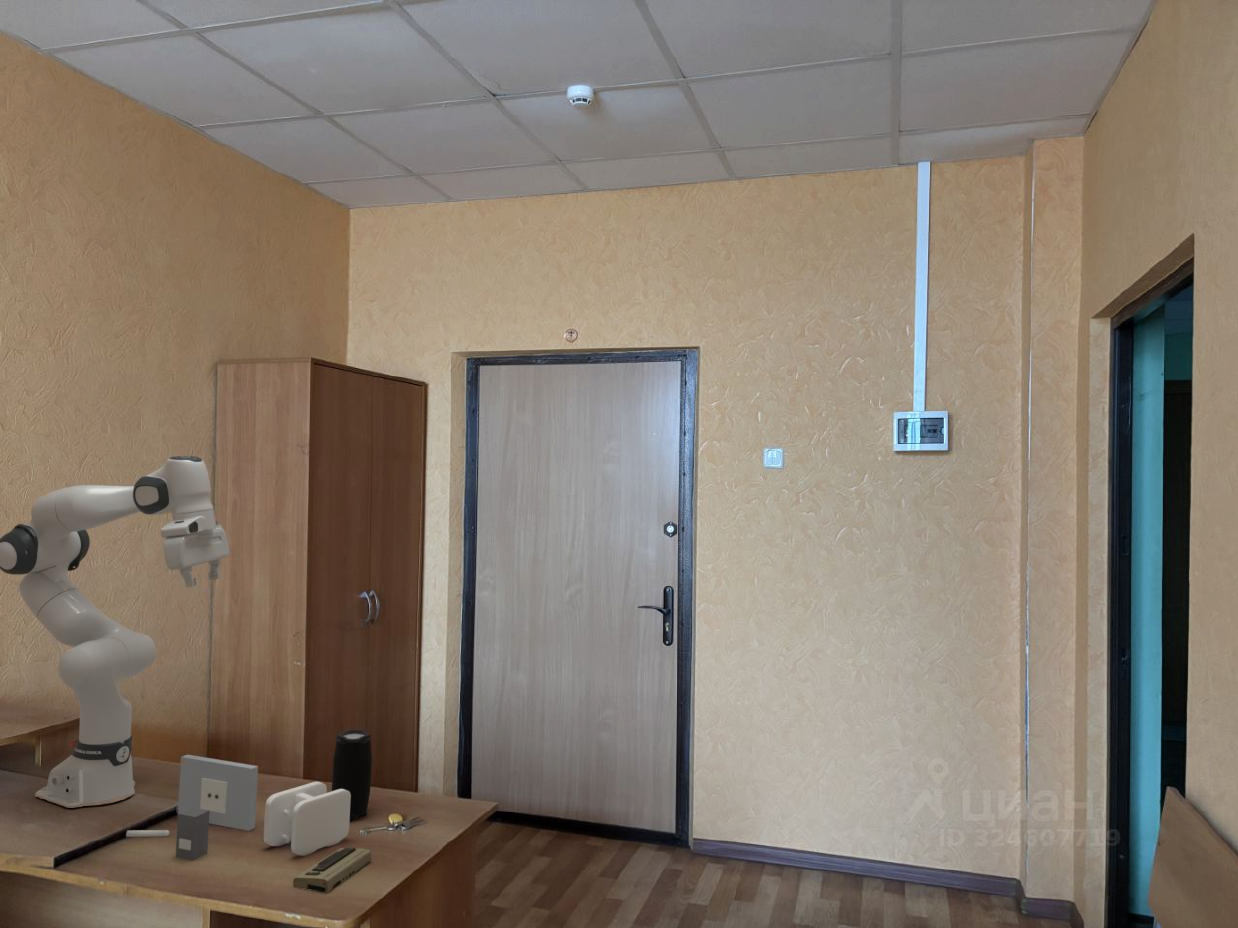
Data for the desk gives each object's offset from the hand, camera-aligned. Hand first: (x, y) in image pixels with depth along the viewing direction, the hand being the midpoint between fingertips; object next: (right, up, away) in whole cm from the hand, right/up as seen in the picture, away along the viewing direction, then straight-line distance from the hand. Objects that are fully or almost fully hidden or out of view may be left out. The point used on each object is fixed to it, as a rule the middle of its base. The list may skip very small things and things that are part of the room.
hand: (203, 582), depth 209 cm
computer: (+39, -57, -26) cm, 73 cm away
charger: (+7, -55, -20) cm, 59 cm away
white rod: (-7, -55, -12) cm, 56 cm away
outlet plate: (+4, -55, -3) cm, 55 cm away
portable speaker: (+33, -57, +5) cm, 66 cm away
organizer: (+28, -56, -12) cm, 64 cm away
